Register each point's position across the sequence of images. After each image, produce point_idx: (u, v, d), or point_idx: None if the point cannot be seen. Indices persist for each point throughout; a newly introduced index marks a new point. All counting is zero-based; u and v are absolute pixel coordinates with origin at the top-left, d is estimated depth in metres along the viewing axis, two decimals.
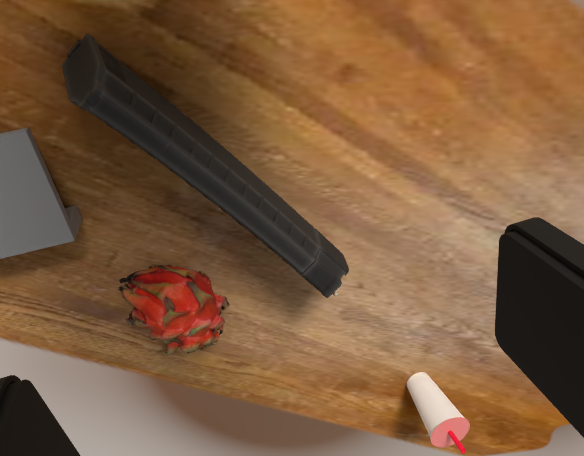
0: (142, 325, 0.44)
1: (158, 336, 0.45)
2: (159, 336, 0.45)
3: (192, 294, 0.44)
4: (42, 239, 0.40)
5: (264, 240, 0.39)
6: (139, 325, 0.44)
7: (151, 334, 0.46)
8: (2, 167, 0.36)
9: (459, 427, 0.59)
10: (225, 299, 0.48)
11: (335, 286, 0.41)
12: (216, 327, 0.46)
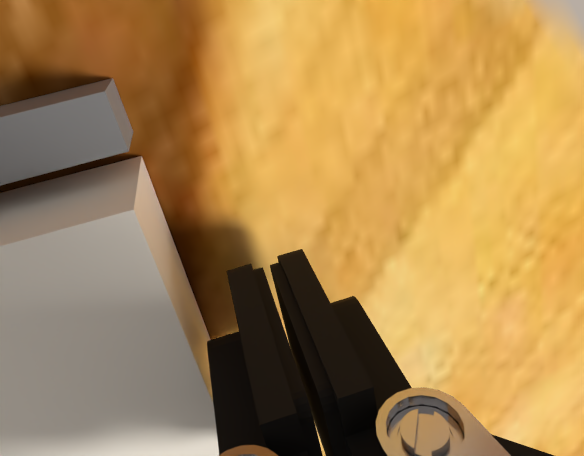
0: None
1: None
2: None
3: None
4: None
5: None
6: None
7: None
8: None
9: None
10: None
11: None
12: None
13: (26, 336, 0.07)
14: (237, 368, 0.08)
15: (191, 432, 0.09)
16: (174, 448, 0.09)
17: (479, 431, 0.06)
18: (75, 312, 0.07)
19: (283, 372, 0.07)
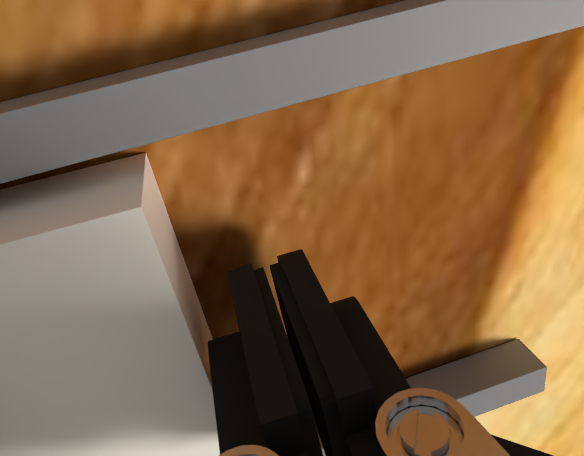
0: None
1: None
2: None
3: None
4: None
5: None
6: None
7: None
8: None
9: None
10: None
11: None
12: None
13: (30, 335, 0.07)
14: (237, 368, 0.08)
15: (195, 431, 0.09)
16: (177, 447, 0.09)
17: (478, 431, 0.06)
18: (80, 310, 0.07)
19: (284, 372, 0.07)
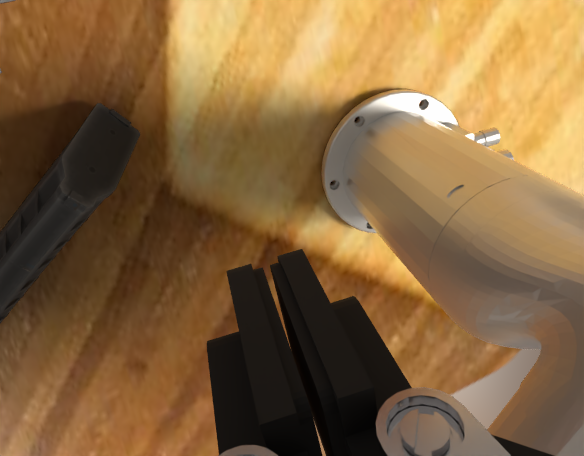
0: None
1: None
2: None
3: None
4: None
5: None
6: None
7: None
8: None
9: None
10: None
11: None
12: None
13: None
14: (237, 368, 0.08)
15: None
16: None
17: (479, 431, 0.06)
18: None
19: (283, 372, 0.07)
